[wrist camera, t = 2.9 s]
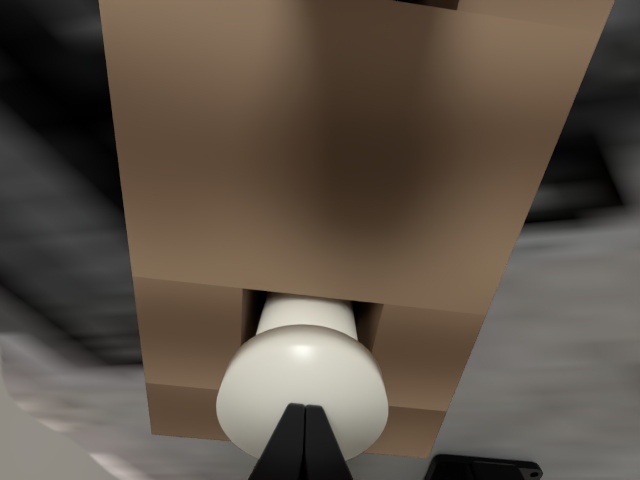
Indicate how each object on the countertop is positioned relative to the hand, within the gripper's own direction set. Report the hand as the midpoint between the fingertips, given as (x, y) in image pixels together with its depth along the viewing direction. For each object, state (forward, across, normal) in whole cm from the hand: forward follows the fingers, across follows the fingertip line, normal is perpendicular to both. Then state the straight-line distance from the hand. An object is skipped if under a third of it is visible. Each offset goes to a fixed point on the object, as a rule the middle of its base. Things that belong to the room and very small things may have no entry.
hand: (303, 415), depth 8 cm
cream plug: (+6, 0, 0) cm, 6 cm away
